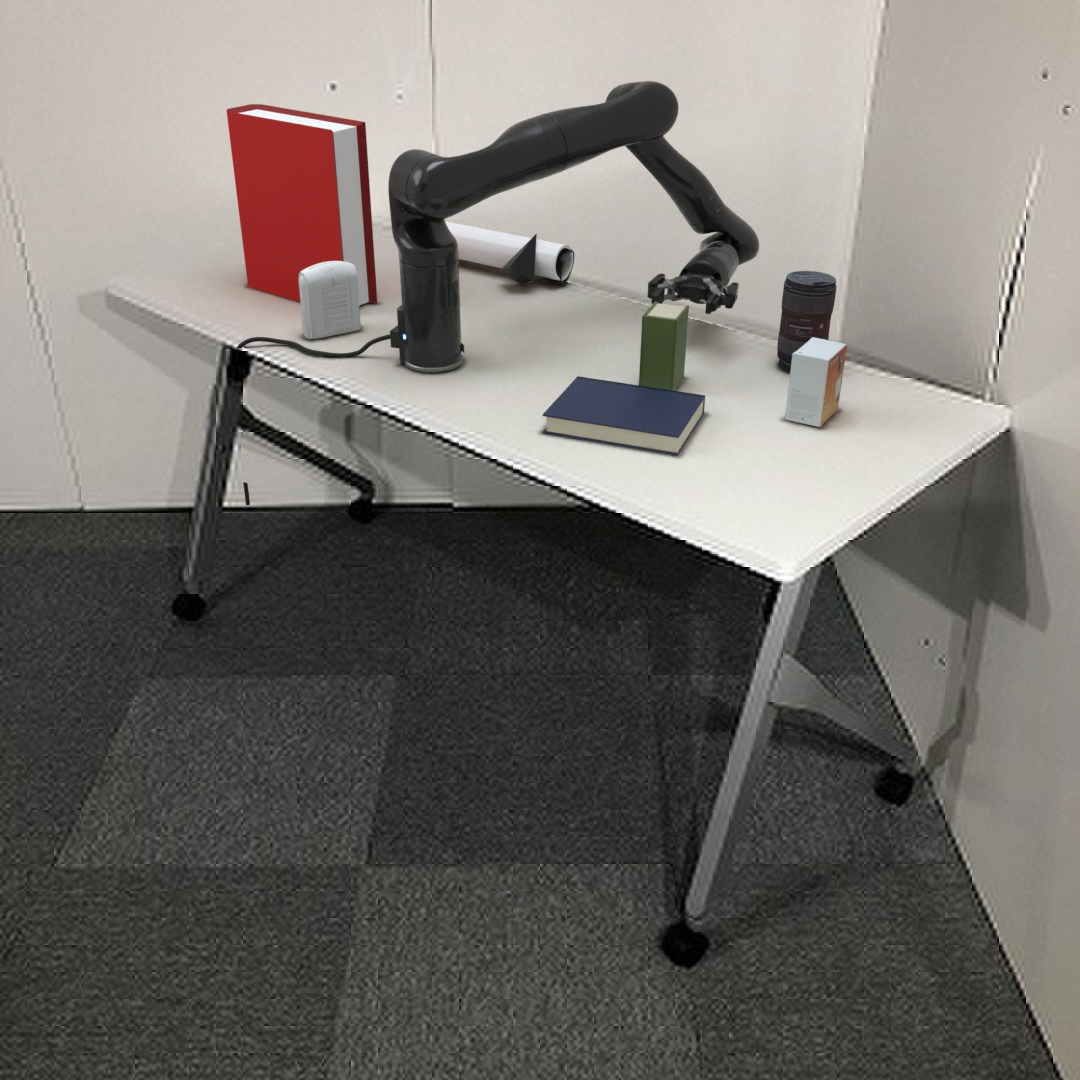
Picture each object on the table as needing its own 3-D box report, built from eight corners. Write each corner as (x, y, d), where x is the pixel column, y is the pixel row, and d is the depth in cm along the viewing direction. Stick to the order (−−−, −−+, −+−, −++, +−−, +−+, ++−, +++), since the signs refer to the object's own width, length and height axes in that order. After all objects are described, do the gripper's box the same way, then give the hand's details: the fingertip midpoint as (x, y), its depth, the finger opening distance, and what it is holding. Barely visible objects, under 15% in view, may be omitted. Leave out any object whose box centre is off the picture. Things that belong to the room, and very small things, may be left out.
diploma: (425, 270, 247) (389, 243, 235) (440, 228, 247) (405, 199, 235) (568, 302, 230) (537, 275, 218) (584, 257, 230) (554, 227, 219)
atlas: (542, 433, 172) (542, 414, 171) (577, 394, 184) (577, 376, 183) (677, 455, 166) (678, 436, 164) (704, 414, 178) (705, 395, 177)
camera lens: (835, 371, 192) (848, 280, 185) (794, 380, 189) (806, 288, 182) (804, 354, 199) (816, 266, 191) (764, 362, 196) (774, 273, 188)
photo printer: (354, 323, 210) (348, 254, 204) (365, 330, 207) (360, 260, 201) (299, 334, 206) (292, 264, 199) (310, 342, 202) (303, 271, 196)
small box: (820, 428, 174) (829, 360, 168) (783, 420, 176) (791, 352, 171) (839, 409, 180) (848, 343, 174) (803, 401, 182) (812, 335, 177)
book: (377, 303, 219) (365, 122, 203) (346, 315, 214) (331, 129, 198) (274, 275, 233) (255, 103, 217) (243, 285, 228) (221, 110, 212)
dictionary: (638, 389, 186) (642, 315, 180) (651, 373, 191) (655, 301, 185) (672, 394, 184) (677, 320, 178) (683, 378, 190) (689, 305, 184)
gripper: (667, 248, 204) (640, 276, 191) (750, 258, 200) (727, 287, 187) (665, 291, 208) (637, 321, 195) (746, 301, 203) (723, 333, 190)
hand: (681, 304), depth 191 cm, fingers open, 8 cm apart
